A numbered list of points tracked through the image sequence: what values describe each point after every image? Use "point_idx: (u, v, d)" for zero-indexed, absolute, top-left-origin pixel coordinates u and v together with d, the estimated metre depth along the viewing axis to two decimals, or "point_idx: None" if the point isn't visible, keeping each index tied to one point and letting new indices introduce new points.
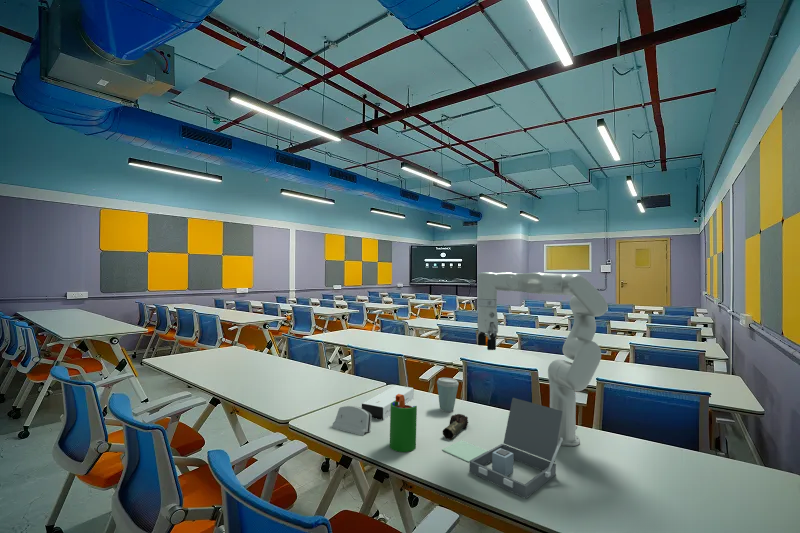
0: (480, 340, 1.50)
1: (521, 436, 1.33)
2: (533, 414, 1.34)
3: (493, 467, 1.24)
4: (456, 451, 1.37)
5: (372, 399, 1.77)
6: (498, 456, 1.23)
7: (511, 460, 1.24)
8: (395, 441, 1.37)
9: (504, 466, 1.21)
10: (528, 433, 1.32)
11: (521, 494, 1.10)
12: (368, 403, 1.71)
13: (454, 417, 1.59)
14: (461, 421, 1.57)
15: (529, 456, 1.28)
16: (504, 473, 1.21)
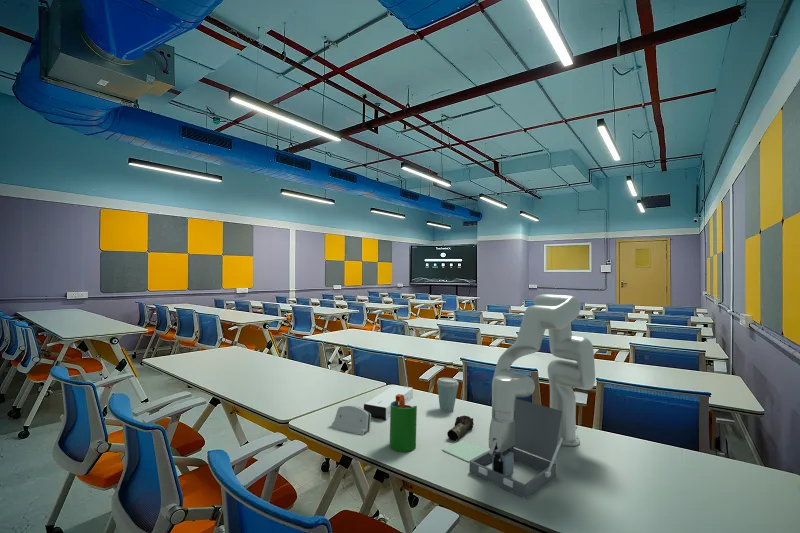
0: None
1: (521, 436, 1.33)
2: (533, 414, 1.34)
3: None
4: (456, 451, 1.37)
5: (373, 399, 1.77)
6: None
7: (511, 460, 1.23)
8: (395, 441, 1.37)
9: (504, 466, 1.21)
10: (528, 433, 1.32)
11: (521, 494, 1.10)
12: (370, 404, 1.70)
13: (460, 418, 1.57)
14: (466, 423, 1.55)
15: (529, 456, 1.28)
16: (504, 473, 1.21)
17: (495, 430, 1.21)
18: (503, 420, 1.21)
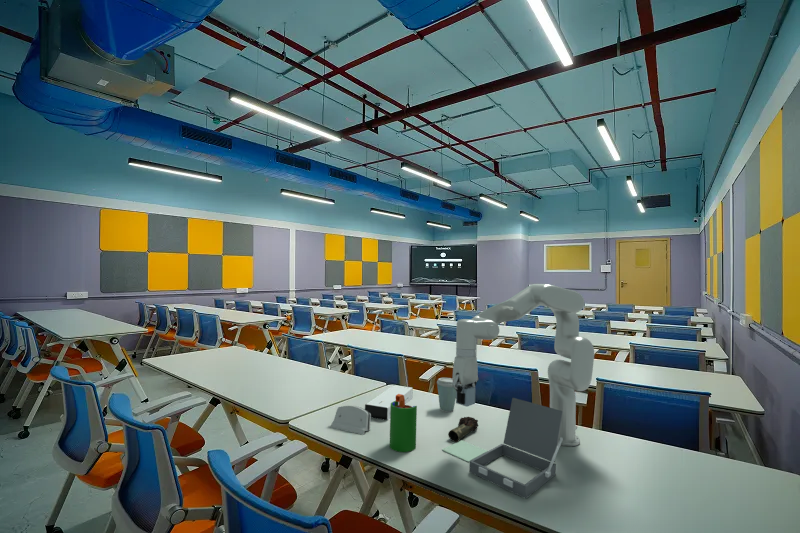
0: None
1: (521, 436, 1.33)
2: (533, 414, 1.34)
3: None
4: (456, 451, 1.37)
5: (374, 399, 1.76)
6: None
7: (473, 393, 1.38)
8: (395, 441, 1.37)
9: (466, 397, 1.35)
10: (528, 433, 1.32)
11: (521, 494, 1.10)
12: (371, 404, 1.70)
13: (463, 419, 1.56)
14: (469, 424, 1.54)
15: (529, 456, 1.28)
16: (466, 403, 1.35)
17: (458, 365, 1.36)
18: (465, 356, 1.36)
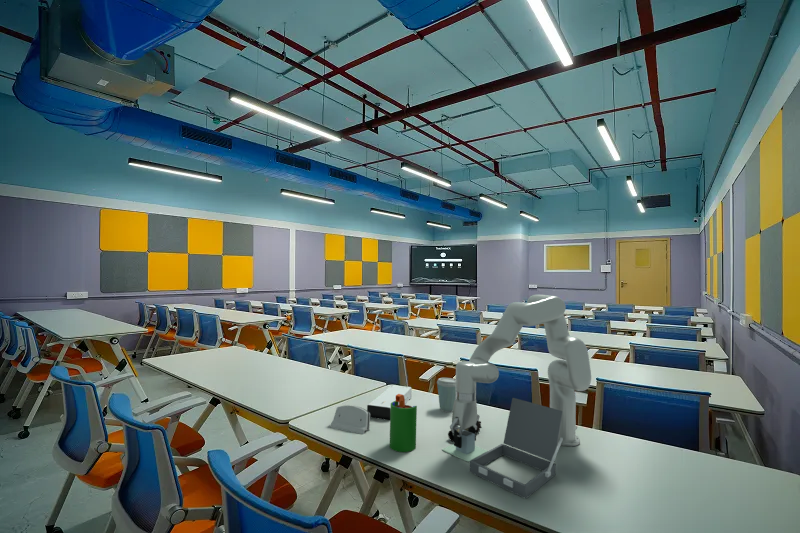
0: None
1: (521, 436, 1.33)
2: (533, 414, 1.34)
3: None
4: (456, 451, 1.37)
5: (376, 400, 1.76)
6: (461, 436, 1.37)
7: (472, 440, 1.37)
8: (395, 441, 1.37)
9: (465, 445, 1.35)
10: (528, 433, 1.32)
11: (521, 494, 1.10)
12: (374, 404, 1.70)
13: None
14: None
15: (529, 456, 1.28)
16: (465, 451, 1.35)
17: (457, 409, 1.35)
18: (464, 400, 1.35)
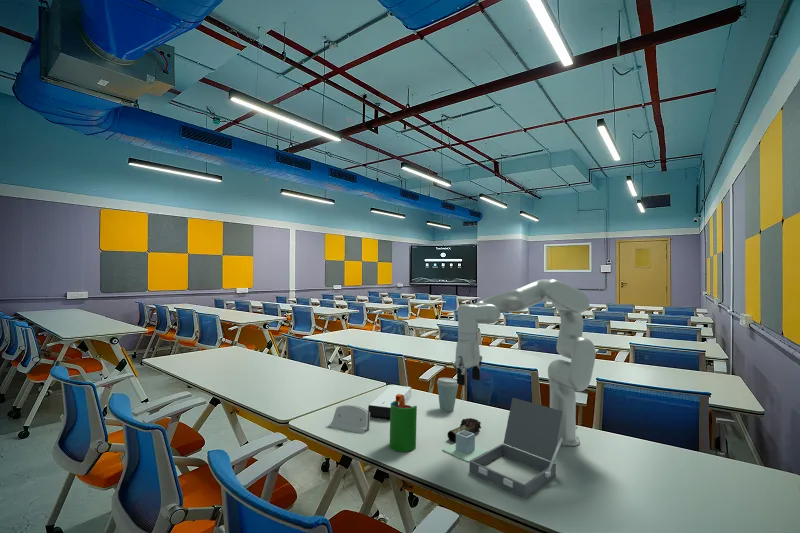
0: None
1: (521, 436, 1.33)
2: (533, 414, 1.34)
3: (456, 446, 1.38)
4: (456, 451, 1.37)
5: (376, 400, 1.76)
6: (461, 436, 1.37)
7: (472, 440, 1.37)
8: (395, 441, 1.37)
9: (465, 445, 1.35)
10: (528, 433, 1.32)
11: (521, 494, 1.10)
12: (375, 405, 1.69)
13: (465, 420, 1.55)
14: (471, 425, 1.52)
15: (529, 456, 1.28)
16: (465, 451, 1.35)
17: (460, 349, 1.38)
18: (467, 340, 1.38)
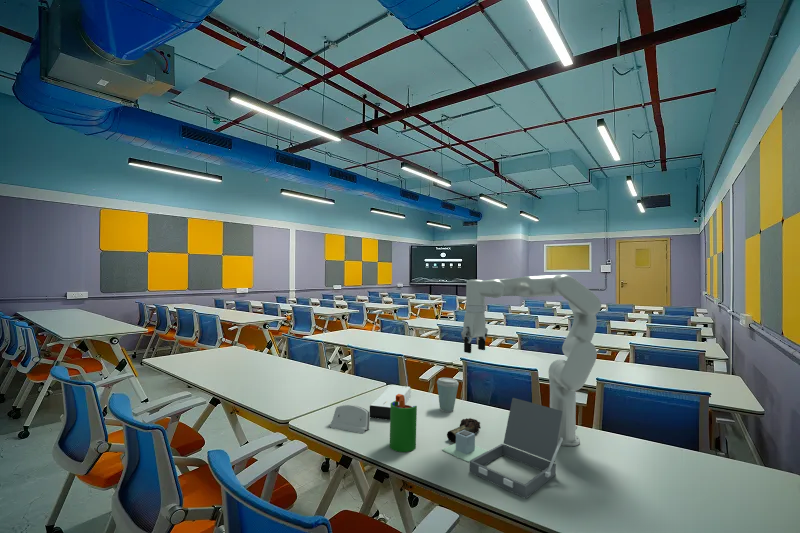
0: None
1: (521, 436, 1.33)
2: (533, 414, 1.34)
3: (456, 446, 1.38)
4: (456, 451, 1.37)
5: (377, 400, 1.76)
6: (461, 436, 1.37)
7: (472, 440, 1.37)
8: (395, 441, 1.37)
9: (465, 445, 1.35)
10: (528, 433, 1.32)
11: (521, 494, 1.10)
12: (376, 405, 1.69)
13: (464, 421, 1.55)
14: (470, 426, 1.52)
15: (529, 456, 1.28)
16: (465, 451, 1.35)
17: (468, 320, 1.50)
18: (474, 312, 1.50)
